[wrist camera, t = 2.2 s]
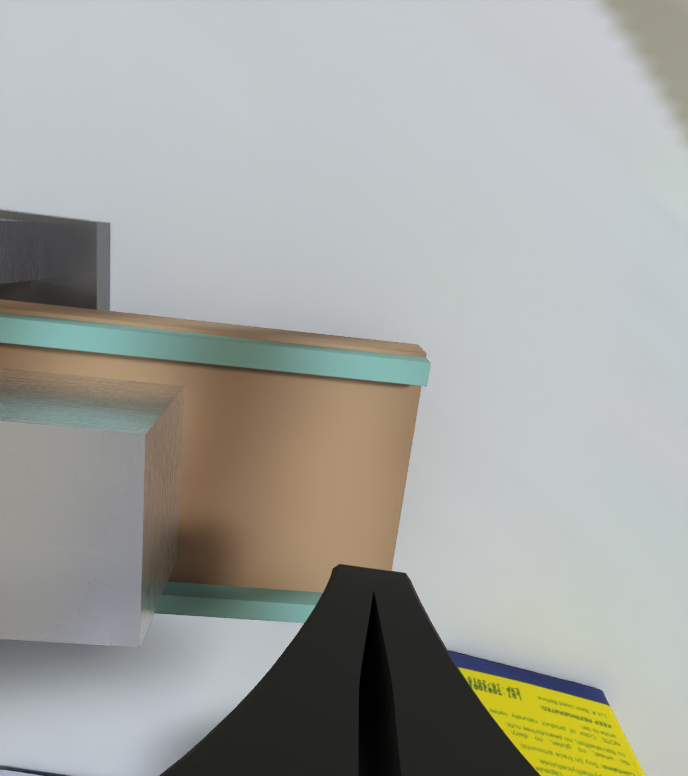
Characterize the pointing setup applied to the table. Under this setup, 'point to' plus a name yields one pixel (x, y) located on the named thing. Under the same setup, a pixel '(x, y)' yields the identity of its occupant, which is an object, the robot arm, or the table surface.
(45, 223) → the beam stand
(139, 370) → the balance beam
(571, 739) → the supplement box
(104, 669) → the table surface
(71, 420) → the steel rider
